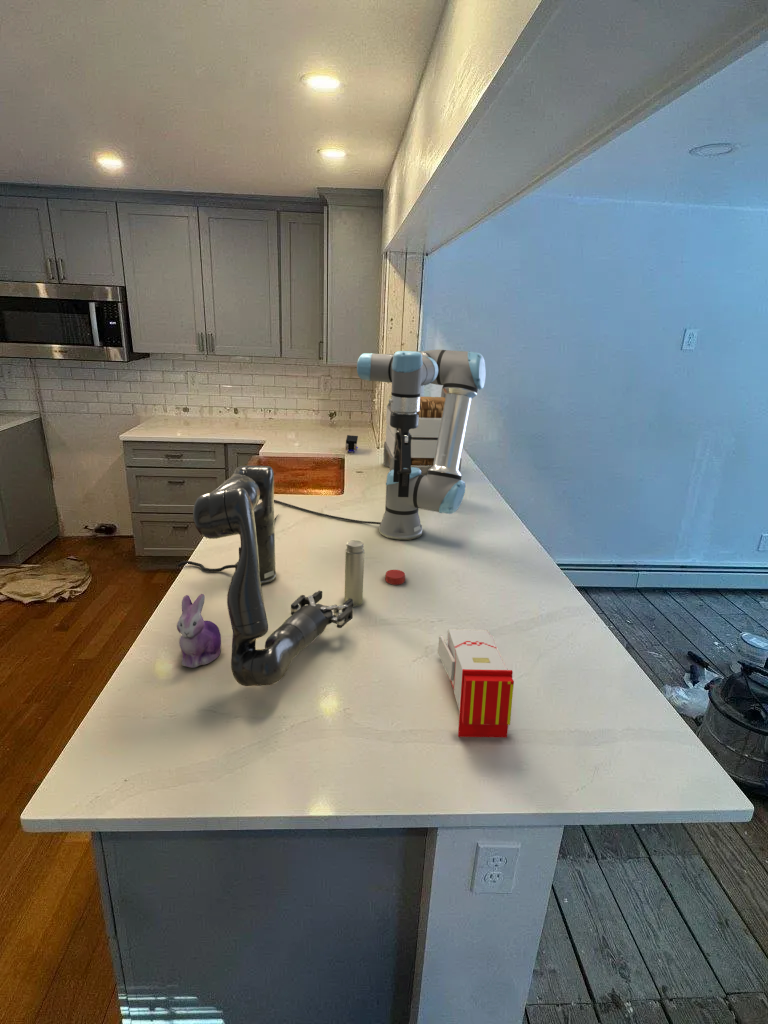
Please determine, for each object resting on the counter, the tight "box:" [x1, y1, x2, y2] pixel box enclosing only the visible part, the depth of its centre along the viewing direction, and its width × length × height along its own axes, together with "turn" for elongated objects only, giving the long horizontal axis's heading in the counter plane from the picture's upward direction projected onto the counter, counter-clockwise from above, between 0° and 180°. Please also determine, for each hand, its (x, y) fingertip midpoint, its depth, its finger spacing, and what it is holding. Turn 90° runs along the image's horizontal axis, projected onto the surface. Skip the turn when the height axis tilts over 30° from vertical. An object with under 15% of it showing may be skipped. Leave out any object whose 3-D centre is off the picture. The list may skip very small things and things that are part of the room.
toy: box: [437, 628, 515, 738], centre depth 117 cm, size 12×13×30 cm
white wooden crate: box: [383, 386, 463, 474], centre depth 268 cm, size 34×33×41 cm
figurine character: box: [345, 434, 359, 454], centre depth 310 cm, size 7×8×15 cm
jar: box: [343, 539, 365, 607], centre depth 150 cm, size 5×5×17 cm
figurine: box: [176, 593, 222, 668], centre depth 123 cm, size 9×10×15 cm
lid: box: [384, 569, 406, 586], centre depth 165 cm, size 6×6×2 cm
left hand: (335, 597), depth 141 cm, fingers open, 8 cm apart
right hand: (400, 489), depth 156 cm, fingers open, 13 cm apart
